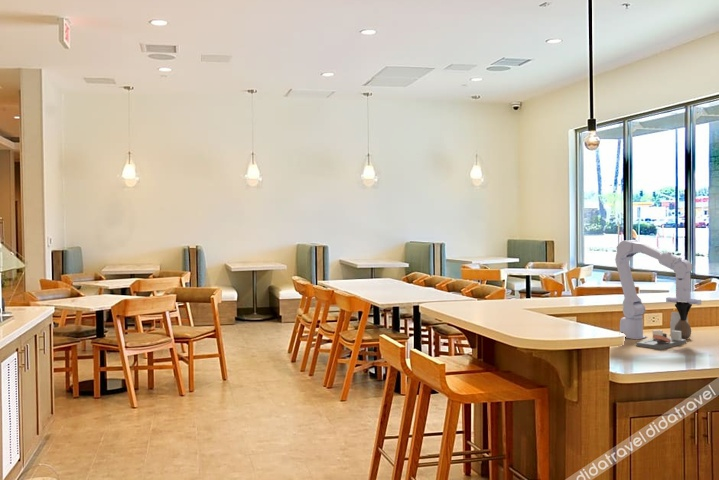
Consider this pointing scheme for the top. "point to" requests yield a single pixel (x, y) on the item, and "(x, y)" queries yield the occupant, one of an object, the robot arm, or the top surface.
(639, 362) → the top surface
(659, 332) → the slotted cream block
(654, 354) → the top surface
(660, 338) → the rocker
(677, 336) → the slotted white box
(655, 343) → the console
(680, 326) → the vase
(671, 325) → the grey rectangular block
